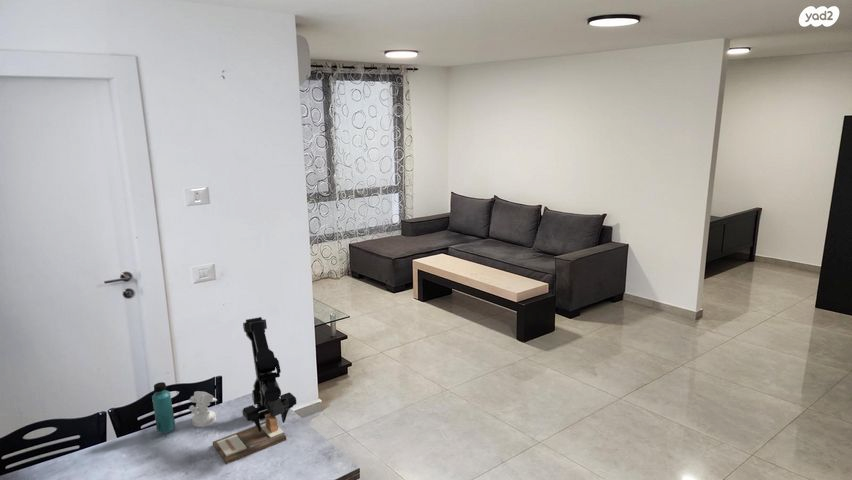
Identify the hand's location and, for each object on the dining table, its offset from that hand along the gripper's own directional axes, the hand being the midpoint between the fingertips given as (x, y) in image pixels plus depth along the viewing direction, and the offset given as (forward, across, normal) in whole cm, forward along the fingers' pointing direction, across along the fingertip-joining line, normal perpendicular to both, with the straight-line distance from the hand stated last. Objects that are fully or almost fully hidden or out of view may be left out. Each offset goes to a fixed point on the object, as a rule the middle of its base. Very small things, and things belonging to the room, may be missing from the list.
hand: (271, 426), depth 199 cm
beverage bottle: (+3, -31, +27) cm, 41 cm away
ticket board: (+3, -10, 0) cm, 10 cm away
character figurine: (+3, -17, +26) cm, 31 cm away
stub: (+1, 0, 0) cm, 1 cm away
